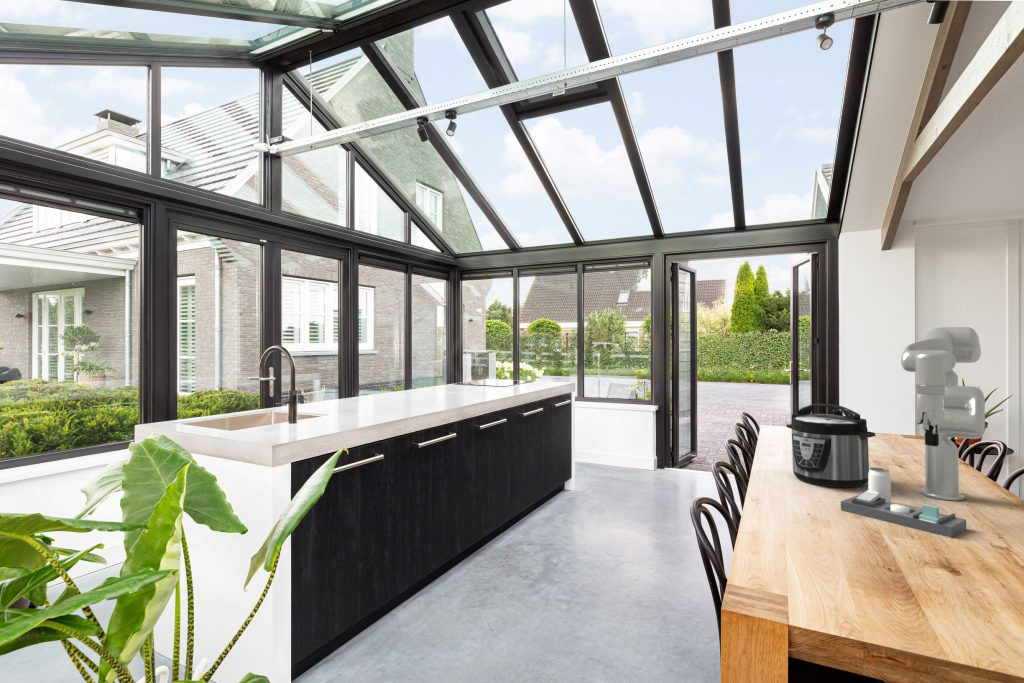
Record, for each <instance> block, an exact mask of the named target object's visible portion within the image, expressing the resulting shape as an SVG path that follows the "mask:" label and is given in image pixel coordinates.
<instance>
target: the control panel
mask: <svg viewBox="0 0 1024 683" xmlns="http://www.w3.org/2000/svg"><path fill="white" fill-rule="evenodd" d="M859 496H860V495H855V496H852V497H850V498H846V499H843V500H841V501H840V510H841V511H843V512H845V513H846V512H847V513H851V514H855V515H859V516H863V517H868V518H871V519H876V520H880V521H883V522H887V523H890V524H891V523H892V524H895V525H898V526H902V527H908V528H911V529H915V530H919V531H922V532H928V533H931V534H936V535H940V536H943V537H947V538H951V539H952V538H953V537H955V536H956V535H959V534H960V533H962V532H963V531H964V532H965V530H967V519H966V518H961V517H958V516H957V517H956V513H954V512H952V513H951V514H949V515H948V514H944V513H940V512H939V517H943V518H942V519H940V520H938V523H937V522H933V521H929V520H925V519H920V518H919V515H921V514H922V509H921V508H916V507H913V506H908V507H909V508H910V514H908V515H907V514H903V513H899V512H894V511H890V505H892V504H896V503H894V502H891V503H890V502H886V499H884V498H878V499H877V500H875V501H874V502H873V503H867V502H862V501H858V500H857V499H856V498H857V497H859Z"/></svg>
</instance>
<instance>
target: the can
mask: <svg viewBox="0 0 1024 683" xmlns="http://www.w3.org/2000/svg"><path fill="white" fill-rule="evenodd" d="M891 477H892V476H891V473H890V469H887V468H884V467H883V468H882V467H869V473H868V482H867V484H868V490H870V491H875V492H879V493H881V497H879V498H884V499H886V502H890V503H892V485H891Z"/></svg>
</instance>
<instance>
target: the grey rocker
mask: <svg viewBox="0 0 1024 683" xmlns="http://www.w3.org/2000/svg"><path fill="white" fill-rule="evenodd" d="M858 496H859V497H857V498H856V499H857V500H858V501H862V502H867V503H873V502H874V501H875V500H877V499H878V498H879V497H881V493H879V492H875V491H870V490H869V489H867V490H865V491H864V492H863V493H861V494H860V495H858Z"/></svg>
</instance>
